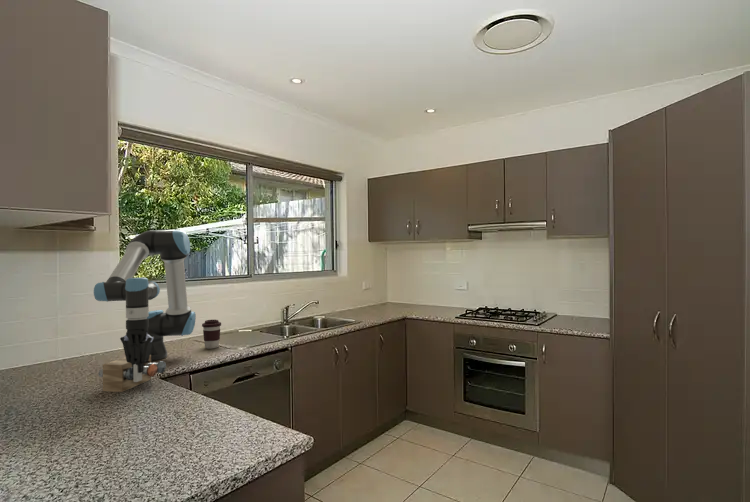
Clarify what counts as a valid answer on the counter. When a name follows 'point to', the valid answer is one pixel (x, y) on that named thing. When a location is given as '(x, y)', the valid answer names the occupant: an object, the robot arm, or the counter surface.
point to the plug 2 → (158, 366)
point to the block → (120, 376)
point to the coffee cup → (211, 333)
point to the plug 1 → (126, 374)
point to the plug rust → (150, 370)
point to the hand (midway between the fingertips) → (137, 380)
